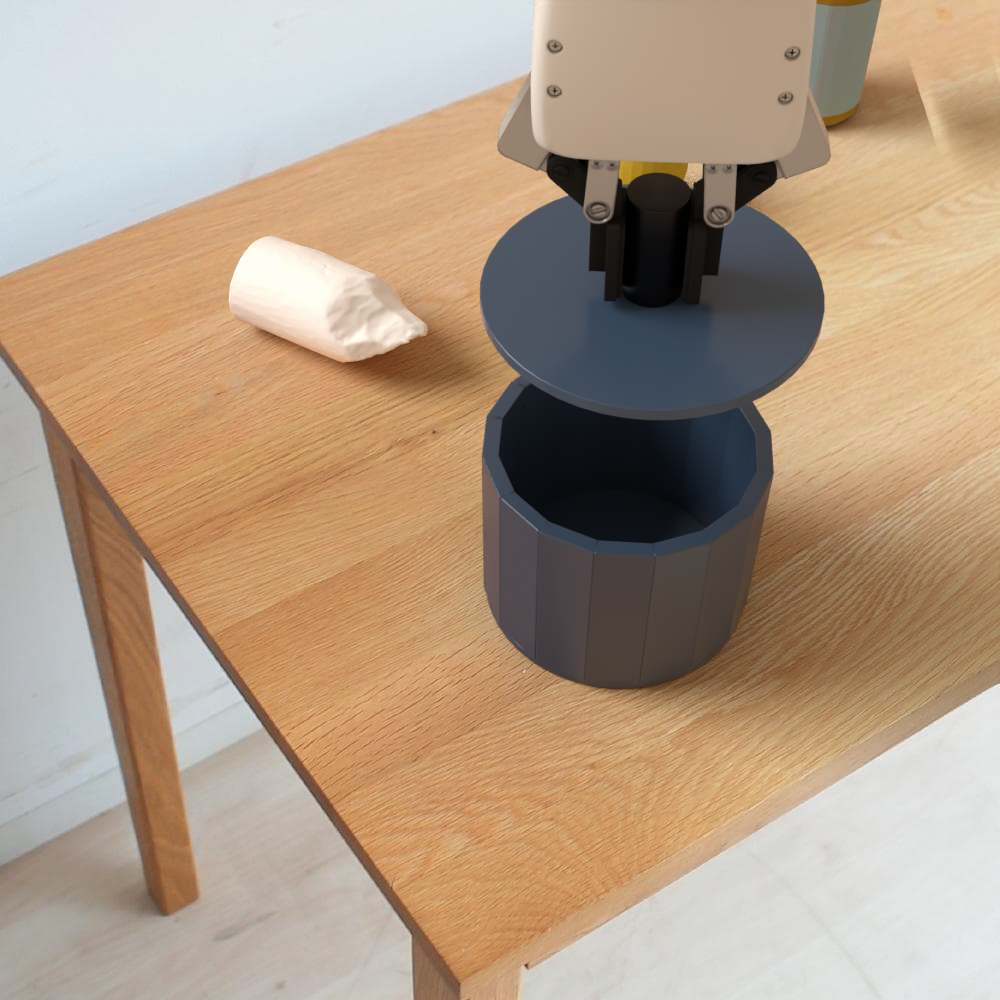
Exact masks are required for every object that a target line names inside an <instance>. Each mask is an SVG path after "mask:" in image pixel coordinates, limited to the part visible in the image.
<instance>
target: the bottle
mask: <svg viewBox="0 0 1000 1000" xmlns="http://www.w3.org/2000/svg"><path fill="white" fill-rule="evenodd" d="M882 2H883V0H816V14H815V27H814V37H813V48H812V58H811V69H810V78H809V87H810V90H811V92H812V95H813V97H814V100H815V102H816V105H817V107H818V110H819V112H820V115H821V117H822V120H823V122H824V125H825V127H826V128H828V127H833V126H836V125H838V124H840V123H842V122H844V121H845V120H847V119H848V118H850V117H851V116H853V114H855V112H856V111H858V109H859V105H860V102H861V98H862V94H863V90H864V86H865V80H866V76H867V72H868V66H869V62H870V58H871V53H872V49H873V48H872V47H873V43H874V39H875V34H876V29H877V24H878V20H879V17H880V16H879V15H880V11H881V6H882Z"/></svg>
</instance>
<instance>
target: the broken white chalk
mask: <svg viewBox="0 0 1000 1000" xmlns="http://www.w3.org/2000/svg"><path fill="white" fill-rule="evenodd" d="M228 305H229V309H230V313H231V315H232V316H233V318H234V319H236V320H237V321H239V322H242V323H245V324H247V325H250V326H251V327H255V328H257V329H260V330H263V331H265V332H267V333H269V334H272V335H275V336H277V337H279V338H282V339H283V340H286V341H289V342H291V343H292V344H293V343H294V344H296V345H298V346H301V347H303V348H305V349H308V350H310V351H312V352H314V353H317V354H319V355H322V356H324V357H326V358H329V359H332V360H334V361H337V362H340V363H346V362H347V363H349V362H351V363H352V362H353V363H354V362H358V361H364V360H366V359H368V358H369V359H370V358H373V357H375V356H376V355H385V354H386V353H387V352H391V351H393V350H395V349H396V348H399V347H400V345H405V344H408V343H410V340H414V339H416V338H418V337H425V336H427V335H428V331H429V329H428V325H427V323H426V322H424V321H423V320H422V319H421V318H420V317H419V316H417V315H415V314H414V313H413V312H411V311H410V310H409V309H408V308H407V306H406V305H405V303H403V301H402V299H401V297H400V294H399V293H398V292H397V290H396V289H395V288H394V286H392V284H391V283H389V282H388V281H386V279H384V278H383V277H381V276H379V275H377V274H375V273H373V272H371V271H368V270H365V269H363V268H361V267H358V266H356V265H354V264H350V263H348V262H345V261H343V260H341V259H338V258H337V257H334V256H332V255H330V254H328V253H327V252H324V251H322V250H319V249H316V248H311V247H309V246H305V245H300V244H297V243H295V242H293V241H290V240H287V239H283V238H282V237H279V236H275V235H267V236H263V237H260V238H259V239H256V240H255V241H253V242H252V243H251V244H250V245H249V246H248V248H247V249H246V250H244V253H243V254H242V256H241V257H240V259H239V261H238V263H237V265H236V267H235V270H234V272H233V274H232V278H231V280H230V284H229V293H228Z"/></svg>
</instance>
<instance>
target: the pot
mask: <svg viewBox="0 0 1000 1000" xmlns="http://www.w3.org/2000/svg"><path fill="white" fill-rule="evenodd" d="M774 475H775V468H774V451H773V437H772V431H771V429H770V427H769V425H768V424H767V422H766V420H765V419H764V418H763V416H762V415H761V413H760V411H759V409H758V408H757V406H756V404H755V403H754V401H752V402H750V403H748V404H746V405H743V406H741V407H738V408H735V409H732V410H728V411H725V412H722V413H718V414H713V415H708V416H703V417H698V418H690V419H679V420H641V419H630V418H622V417H616V416H611V415H606V414H601V413H597V412H594V411H590V410H587V409H583V408H580V407H577V406H575V405H572V404H570V403H567V402H565V401H562V400H560V399H557V398H556V397H554V396H552V395H550V394H548V393H546V392H544V391H542V390H541V389H539V388H537V387H536V386H534V385H533V384H532V383H530V382H529V381H527V380H526V379H524V378H523V377H522V376H521V375H519V376H518V377H516V378H514V379H513V380H511V381H510V382H509V384H508V385H507V387H506V388H505V389H504V391H503V392H502V393H501V395H500V396H499V398H498V399H497V400H496V402H495V403H494V404H493V406H492V407H491V409H490V410H489V412H488V413H487V415H486V416H485V425H484V434H483V442H482V452H481V497H482V498H481V500H482V505H481V506H482V554H483V556H482V560H483V561H482V568H483V588H484V591H485V594H486V599H487V603H488V605H489V609H490V612H491V614H492V617H493V618H494V620H495V623H496V624H497V626H498V628H499V629H500V631H501V632H502V634H503V635H504V636H505V638H506V639H507V640H508V641H509V642H510V643H511V645H512V646H513V647H515V649H516V650H517V651H518V652H520V653H521V654H522V655H523V656H524V657H525V658H526V659H528V660H529V661H531V662H532V663H534V664H535V665H537V666H539V668H542V669H543V670H545V671H547V672H549V673H551V674H553V675H555V676H558V677H559V678H563V679H565V680H568V681H571V682H574V683H577V684H582V685H586V686H591V687H594V686H595V688H596V687H597V688H604V689H612V690H613V689H619V690H620V689H621V690H623V689H624V690H627V689H628V690H630V689H640V688H649V687H653V686H658V685H661V684H665V683H670V682H671V681H674V680H677V679H680V678H682V677H684V676H686V675H688V674H691V673H693V672H694V671H696V670H698V669H700V668H701V667H702V666H704V665H706V663H708V662H710V660H711V659H712V658H715V656H716V655H717V654H719V653H720V651H721V650H722V649H723V648H724V647H725V645H726V644H727V643H728V642H729V641H730V639H731V638H732V636H733V634H734V632H735V631H736V629H737V627H738V625H739V622H740V619H741V617H742V615H743V612H744V610H745V607H746V606H747V602H748V598H749V592H750V588H751V583H752V579H753V575H754V569H755V565H756V560H757V555H758V551H759V546H760V542H761V536H762V531H763V528H764V527H763V526H764V522H765V517H766V512H767V508H768V503H769V499H770V493H771V490H772V483H773V479H774Z"/></svg>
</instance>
